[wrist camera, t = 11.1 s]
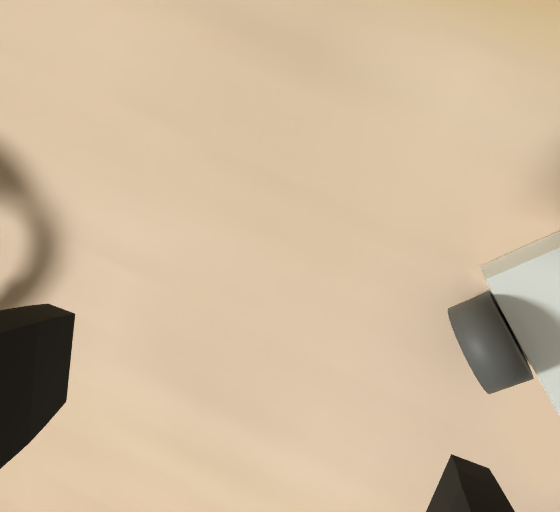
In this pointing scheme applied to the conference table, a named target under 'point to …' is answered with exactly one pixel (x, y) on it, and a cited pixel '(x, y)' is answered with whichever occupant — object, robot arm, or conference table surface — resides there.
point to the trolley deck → (515, 320)
